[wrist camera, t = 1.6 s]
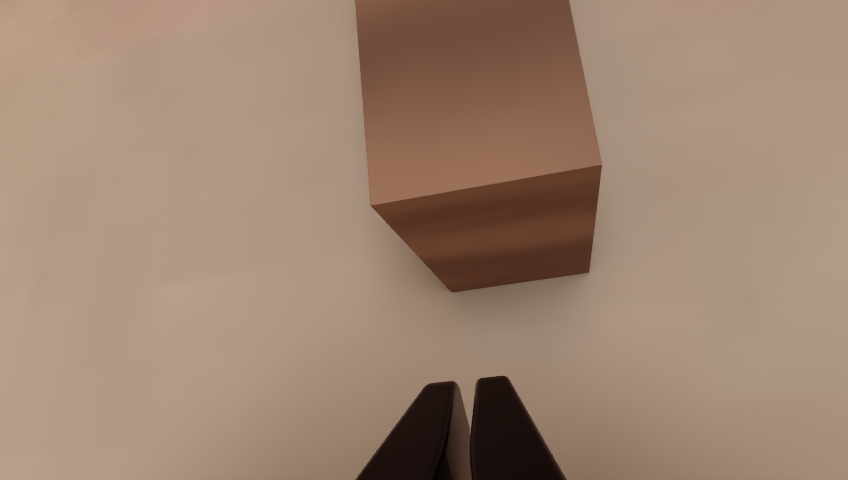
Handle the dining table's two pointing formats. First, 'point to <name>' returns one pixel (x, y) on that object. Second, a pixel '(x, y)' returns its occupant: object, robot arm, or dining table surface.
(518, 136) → the brown patterned block
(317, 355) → the dining table surface
